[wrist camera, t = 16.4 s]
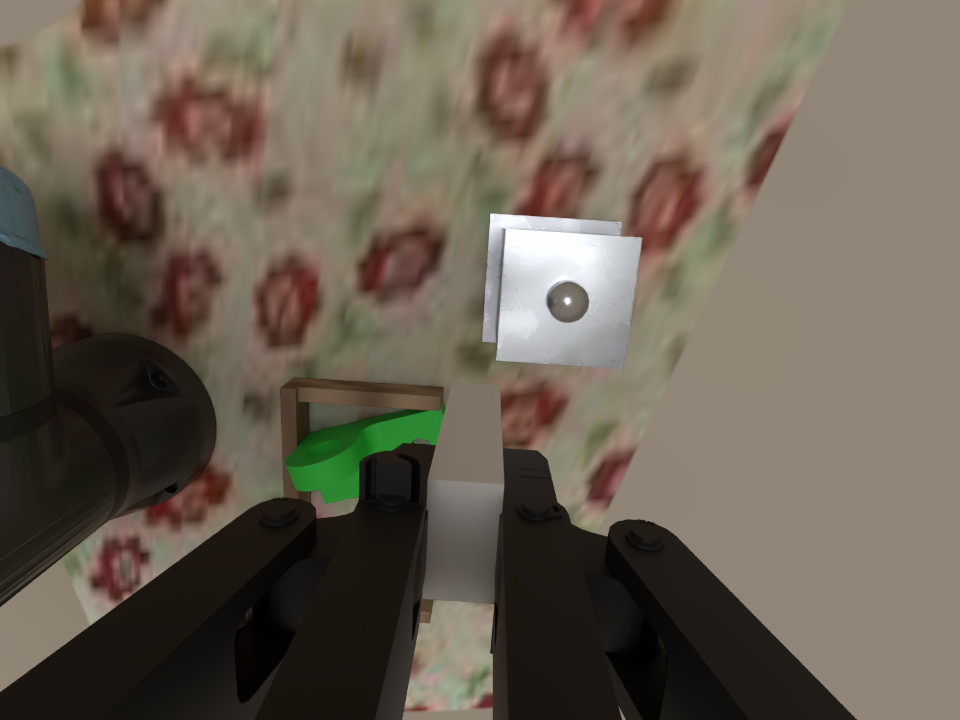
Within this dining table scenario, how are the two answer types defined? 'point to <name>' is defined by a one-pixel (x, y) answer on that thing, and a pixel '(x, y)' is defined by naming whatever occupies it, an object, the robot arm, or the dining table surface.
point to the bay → (345, 393)
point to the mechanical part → (355, 450)
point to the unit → (559, 290)
